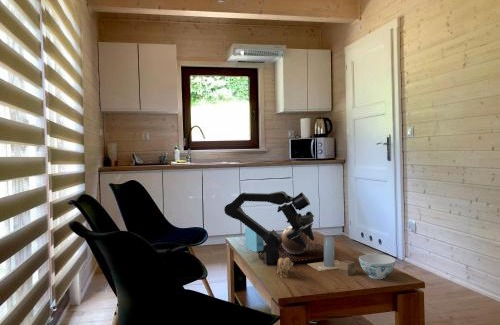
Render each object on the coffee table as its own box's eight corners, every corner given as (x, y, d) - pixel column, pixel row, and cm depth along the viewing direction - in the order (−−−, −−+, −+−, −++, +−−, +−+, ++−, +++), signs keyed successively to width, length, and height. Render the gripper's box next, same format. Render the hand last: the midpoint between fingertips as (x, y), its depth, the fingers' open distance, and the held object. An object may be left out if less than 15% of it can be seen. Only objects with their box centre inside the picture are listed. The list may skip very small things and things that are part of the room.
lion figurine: (294, 279, 178) (294, 258, 178) (283, 280, 177) (282, 259, 176) (282, 269, 192) (282, 250, 192) (271, 270, 191) (271, 251, 190)
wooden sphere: (275, 252, 222) (275, 224, 221) (299, 249, 228) (299, 221, 228) (291, 259, 208) (290, 229, 207) (315, 255, 215) (315, 226, 214)
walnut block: (347, 275, 181) (347, 264, 181) (339, 273, 185) (338, 261, 185) (355, 273, 184) (355, 262, 184) (347, 270, 188) (346, 259, 188)
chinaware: (352, 273, 184) (351, 256, 183) (380, 269, 189) (380, 252, 188) (373, 284, 169) (373, 265, 169) (403, 279, 175) (403, 261, 174)
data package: (263, 251, 225) (263, 229, 224) (256, 252, 222) (256, 230, 222) (252, 247, 235) (251, 225, 234) (245, 248, 233) (244, 226, 232)
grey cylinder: (331, 267, 192) (330, 239, 192) (322, 265, 195) (321, 238, 195) (336, 265, 196) (335, 237, 195) (327, 263, 199) (326, 236, 198)
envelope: (319, 271, 188) (319, 270, 188) (307, 264, 199) (307, 263, 199) (349, 267, 193) (349, 266, 193) (336, 260, 204) (336, 259, 204)
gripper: (296, 214, 186) (315, 245, 185) (312, 202, 202) (330, 229, 200) (278, 224, 192) (296, 254, 191) (295, 211, 208) (312, 239, 206)
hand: (309, 243), depth 197 cm, fingers open, 9 cm apart
